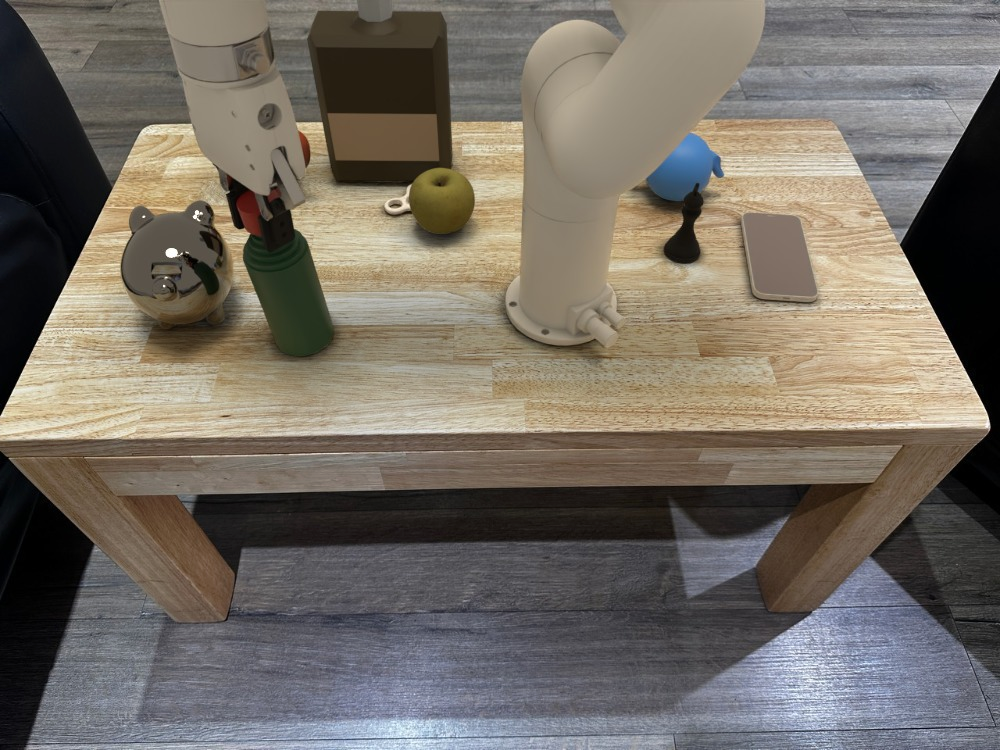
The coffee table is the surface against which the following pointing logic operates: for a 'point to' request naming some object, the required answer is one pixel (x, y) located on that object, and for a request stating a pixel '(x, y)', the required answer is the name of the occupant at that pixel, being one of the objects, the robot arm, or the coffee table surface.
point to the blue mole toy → (685, 169)
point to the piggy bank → (177, 265)
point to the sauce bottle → (290, 294)
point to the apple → (441, 200)
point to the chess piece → (686, 231)
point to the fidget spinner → (400, 201)
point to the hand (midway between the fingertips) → (264, 232)
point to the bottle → (382, 91)
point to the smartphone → (778, 257)
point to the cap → (251, 210)
